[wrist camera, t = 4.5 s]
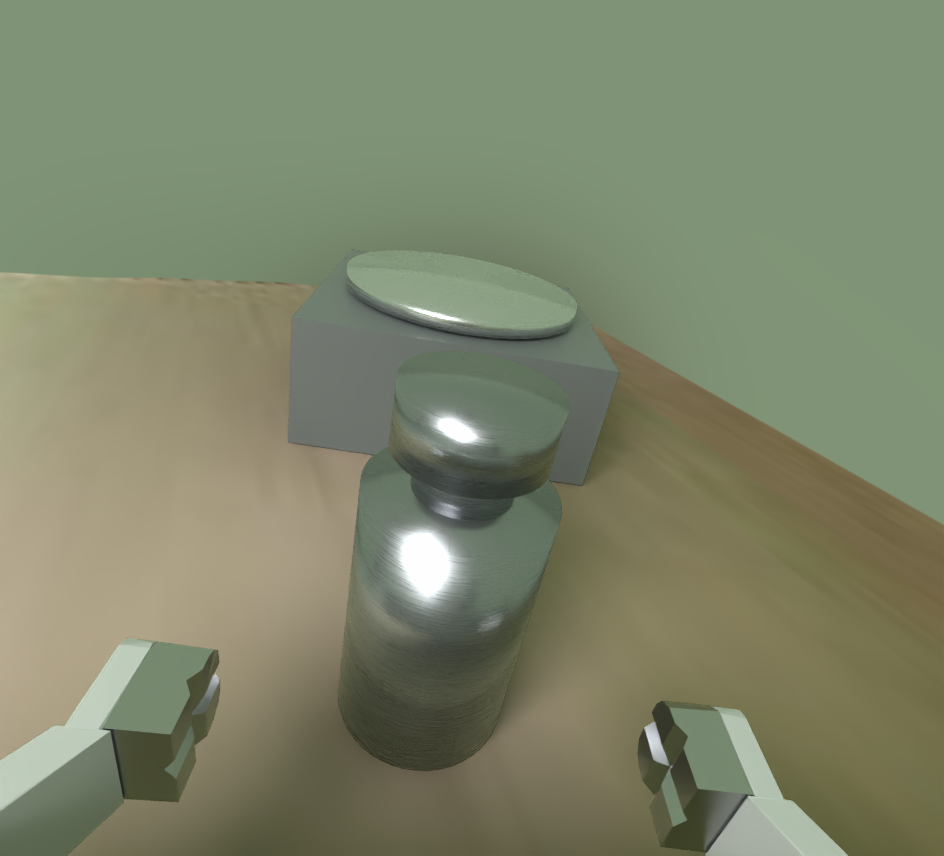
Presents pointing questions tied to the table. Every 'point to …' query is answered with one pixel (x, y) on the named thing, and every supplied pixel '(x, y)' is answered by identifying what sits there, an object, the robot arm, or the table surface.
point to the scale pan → (460, 294)
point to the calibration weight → (448, 555)
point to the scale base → (395, 340)
